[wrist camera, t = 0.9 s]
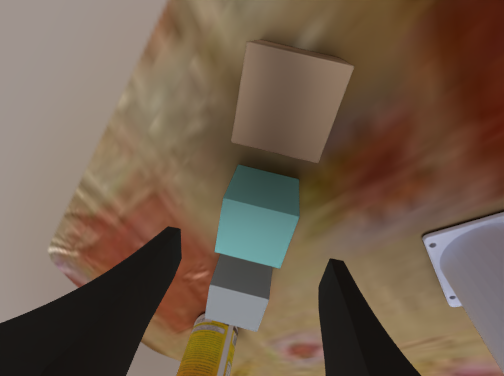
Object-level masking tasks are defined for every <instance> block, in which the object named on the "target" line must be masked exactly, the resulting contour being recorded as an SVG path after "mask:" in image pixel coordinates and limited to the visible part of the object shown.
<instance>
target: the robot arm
mask: <svg viewBox="0 0 504 376" xmlns="http://www.w3.org/2000/svg"><path fill="white" fill-rule="evenodd" d="M422 239H423V243H424V245H425V248H426V250H427V252H428V255H429V257H430V260H431V262H432V265H433V267H434V270H435V272H436V275H437V277H438V280H439V282H440V285H441V287H442V290H443V292H444V295H445V297H446V300H447V302H448V304H449V305H450V306H451V307H459V306H463V308H464V309H465V311H466V313H467V314H468V316H469V318H470V319H471V321H472V323H473V324H474V326H475V328H476V329H477V331H478V333H479V334H480V336H481V338H482V339H483V341H484V342H485V344H486V346H487V347H488V349H489V351H490V352H491V354H492V356H493V357H494V359H495V361H496V362H497V364H498V366H499V367H500V369H501V371H502V372H503V374H504V212H502V213H498V214H495V215H491V216H488V217H485V218H481V219H478V220H474V221H471V222H467V223H464V224H460V225H457V226H454V227H450V228H447V229H443V230H440V231H436V232H433V233H429V234H426V235H425V236H424V237H423V238H422ZM431 243H433V244H431ZM181 259H182V256H181V230H180V229H179V228H174V227H169V226H168V227H167V228H165V229H164V230H163V231H162V232H160V233H159V234H158V235H157V236H155V237H154V238H153V239H152V240H150V241H149V242H148V243H147V244H145V245H144V246H143V247H141V248H140V249H139V250H137V251H136V252H135V253H133V254H132V255H131V256H129V257H128V258H126V259H125V260H123V261H122V262H121V263H119V264H118V265H116V266H115V267H113V268H112V269H110V270H109V271H107V272H106V273H104V274H102V275H101V276H99V277H97V278H96V279H94V280H92V281H91V282H89V283H87V284H85V285H83V286H82V287H80V288H78V289H76V290H74V291H72V292H70V293H68V294H66V295H64V296H62V297H61V298H58V299H56V300H54V301H52V302H50V303H48V304H46V305H43V306H41V307H39V308H37V309H34V310H32V311H30V312H27V313H25V314H23V315H20V316H18V317H15V318H13V319H10V320H8V321H5V322H2V323H0V376H126V374H127V372H128V370H129V367H130V365H131V362H132V360H133V358H134V355H135V353H136V351H137V348H138V346H139V343H140V341H141V339H142V337H143V335H144V332H145V330H146V328H147V326H148V324H149V322H150V320H151V318H152V317H153V315H154V313H155V311H156V309H157V308H158V306H159V304H160V302H161V300H162V299H163V297H164V295H165V293H166V291H167V289H168V288H169V286H170V284H171V282H172V280H173V278H174V276H175V274H176V271H177V269H178V266H179V264H180V261H181ZM319 317H320V325H321V334H322V342H323V350H324V359H325V371H326V376H421V375H420V374H419V372H418V371H417V370H416V369H415V368H414V367H413V366H412V364H411V363H410V362H409V361H408V360H407V358H406V357H405V356H404V355H403V353H402V352H401V351H400V350H399V348H398V347H397V346H396V344H395V343H394V342H393V340H392V339H391V338H390V336H389V335H388V334H387V332H386V331H385V329H384V328H383V326H382V325H381V323H380V322H379V320H378V319H377V317H376V316H375V314H374V313H373V311H372V310H371V308H370V307H369V305H368V303H367V302H366V300H365V298H364V297H363V295H362V293H361V292H360V290H359V288H358V286H357V285H356V283H355V281H354V279H353V278H352V276H351V274H350V272H349V270H348V268H347V267H346V265H345V263H344V261H341V260H336V259H331V258H330V259H329V262H328V264H327V267H326V269H325V272H324V274H323V277H322V279H321V282H320V284H319Z"/></svg>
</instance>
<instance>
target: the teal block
mask: <svg viewBox="0 0 504 376" xmlns="http://www.w3.org/2000/svg"><path fill="white" fill-rule="evenodd" d="M298 219H299V179H295V178H291V177H287V176H283V175H279V174H275V173H271V172H267V171H263V170H259V169H255V168H250V167H246V166H242V165H238V166H237V168H236V171H235V173H234V175H233V177H232V180H231V182H230V184H229V186H228V189H227V191H226V193H225V195H224V197H223V203H222V209H221V215H220V222H219V228H218V234H217V240H216V246H215V252H217V253H221V254H225V255H229V256H233V257H236V258H240V259H244V260H248V261H252V262H256V263H260V264H264V265H268V266H272V267H276V268H280V267H281V264H282V262H283V259H284V256H285V254H286V251H287V249H288V246H289V243H290V241H291V238H292V235H293V233H294V230H295V227H296V225H297V222H298Z"/></svg>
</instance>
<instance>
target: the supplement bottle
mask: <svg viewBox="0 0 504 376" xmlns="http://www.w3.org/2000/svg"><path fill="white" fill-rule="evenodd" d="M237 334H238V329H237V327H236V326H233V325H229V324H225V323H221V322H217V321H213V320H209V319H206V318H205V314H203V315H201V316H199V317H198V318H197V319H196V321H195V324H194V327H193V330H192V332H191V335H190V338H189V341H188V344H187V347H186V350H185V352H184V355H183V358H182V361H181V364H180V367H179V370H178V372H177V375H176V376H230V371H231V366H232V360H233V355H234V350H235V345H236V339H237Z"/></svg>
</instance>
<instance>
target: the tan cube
mask: <svg viewBox="0 0 504 376" xmlns="http://www.w3.org/2000/svg"><path fill="white" fill-rule="evenodd" d="M353 69H354V66H353V65H351V64H349V63H348V62H346V61H344V60H342V59H341V58H338V57H334V56H329V55H325V54H321V53H316V52H312V51H308V50H303V49H299V48H295V47H290V46H286V45H282V44H277V43H273V42H269V41H264V40H254V41H247V45H246V52H245V58H244V64H243V70H242V77H241V83H240V89H239V96H238V102H237V108H236V115H235V121H234V127H233V133H232V140H231V142H232V143H237V144H241V145H245V146H249V147H253V148H257V149H261V150H265V151H269V152H273V153H278V154H282V155H286V156H290V157H294V158H298V159H302V160H306V161H310V162H315V163H319V160H320V157H321V155H322V152H323V149H324V147H325V144H326V141H327V138H328V136H329V133H330V130H331V128H332V125H333V122H334V120H335V117H336V114H337V112H338V109H339V106H340V104H341V101H342V98H343V95H344V93H345V90H346V87H347V85H348V82H349V79H350V77H351V74H352V71H353Z"/></svg>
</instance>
